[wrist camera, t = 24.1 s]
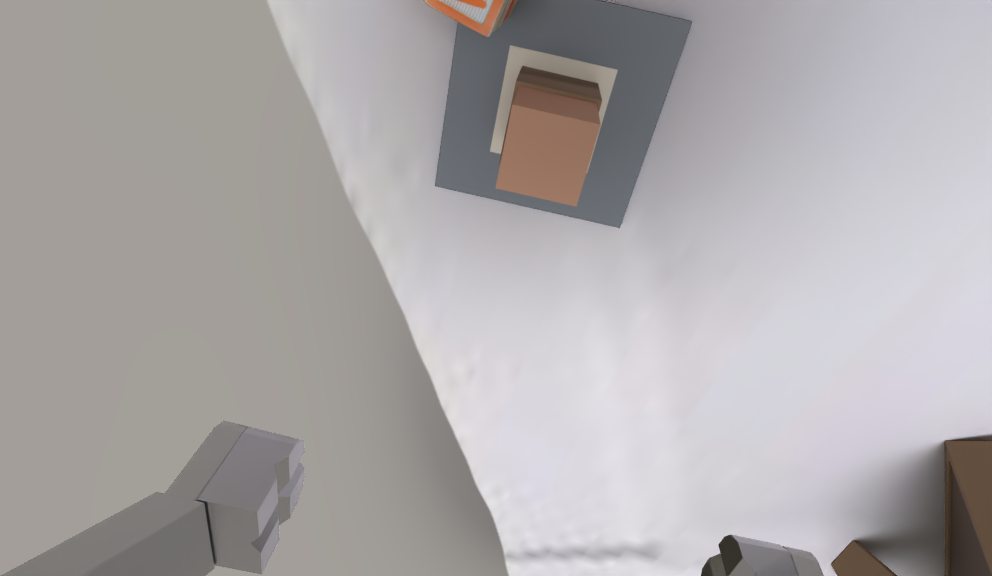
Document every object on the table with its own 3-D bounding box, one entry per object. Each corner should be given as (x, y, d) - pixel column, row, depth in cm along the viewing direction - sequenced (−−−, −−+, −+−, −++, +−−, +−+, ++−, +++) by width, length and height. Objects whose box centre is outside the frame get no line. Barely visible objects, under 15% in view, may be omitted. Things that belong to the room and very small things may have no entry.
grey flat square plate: (466, -31, 33) (464, -31, 32) (690, 21, 33) (692, 22, 32) (436, 183, 40) (434, 186, 40) (619, 224, 40) (619, 228, 40)
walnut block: (522, 65, 35) (516, 80, 30) (598, 83, 35) (602, 100, 30) (506, 140, 37) (498, 164, 33) (576, 157, 37) (577, 182, 33)
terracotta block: (519, 86, 31) (512, 104, 27) (596, 103, 31) (600, 124, 27) (503, 161, 33) (495, 188, 29) (575, 177, 33) (576, 206, 29)
